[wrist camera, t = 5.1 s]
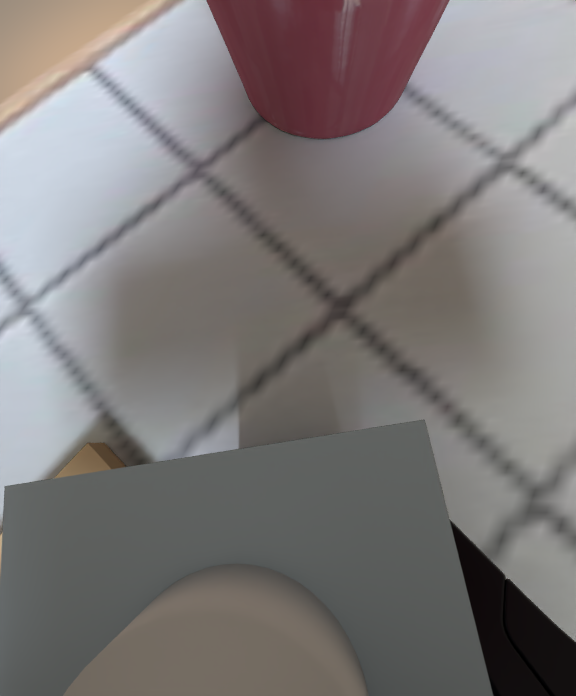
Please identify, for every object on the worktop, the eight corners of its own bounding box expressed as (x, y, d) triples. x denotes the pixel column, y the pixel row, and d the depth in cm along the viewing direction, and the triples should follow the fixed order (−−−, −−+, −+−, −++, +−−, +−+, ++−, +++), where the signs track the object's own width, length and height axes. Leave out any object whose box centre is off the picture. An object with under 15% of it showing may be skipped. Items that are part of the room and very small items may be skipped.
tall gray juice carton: (363, 550, 14) (749, 1444, 2) (251, 567, 14) (-221, 1505, 2) (341, 435, 15) (463, 411, 3) (238, 451, 15) (-102, 501, 3)
